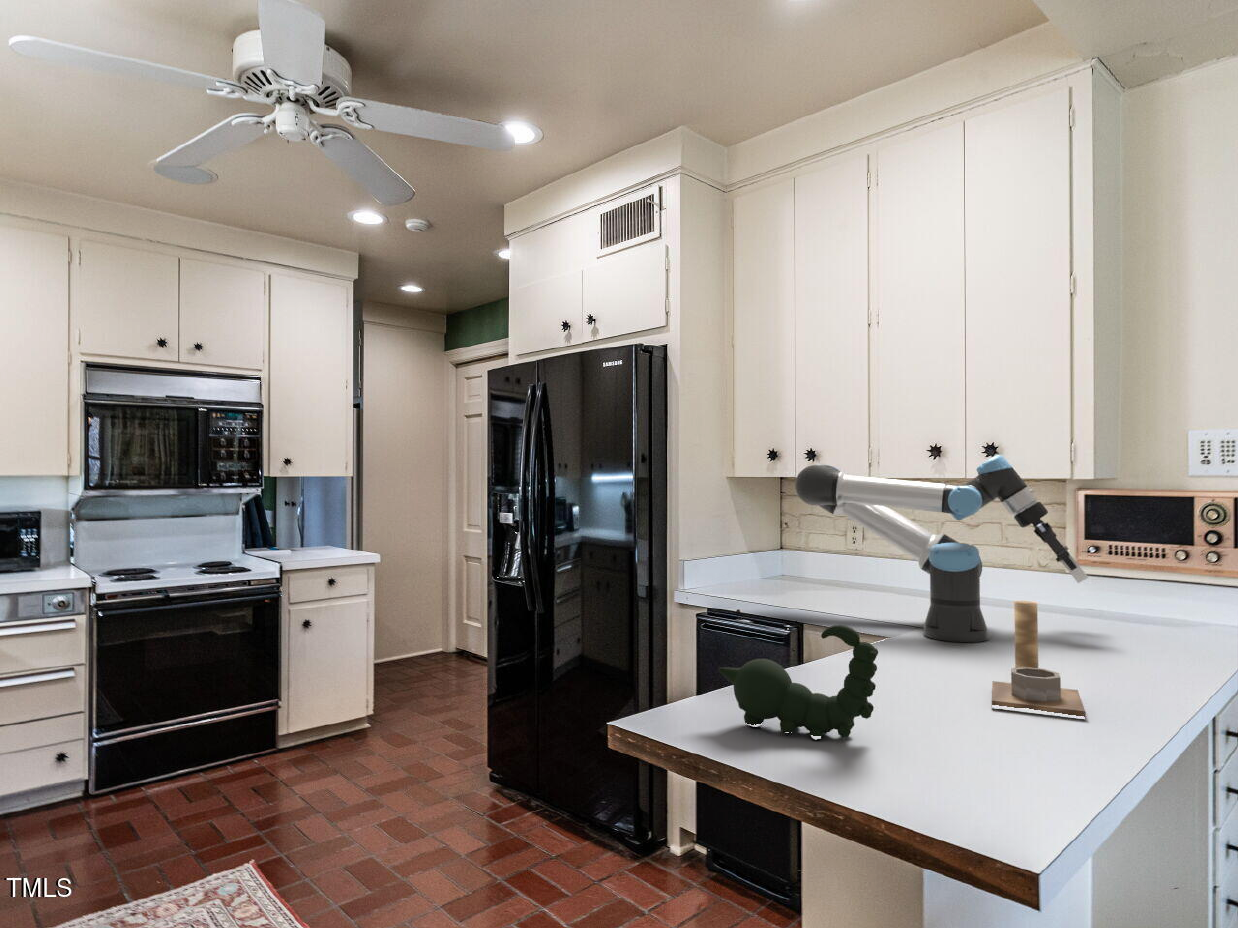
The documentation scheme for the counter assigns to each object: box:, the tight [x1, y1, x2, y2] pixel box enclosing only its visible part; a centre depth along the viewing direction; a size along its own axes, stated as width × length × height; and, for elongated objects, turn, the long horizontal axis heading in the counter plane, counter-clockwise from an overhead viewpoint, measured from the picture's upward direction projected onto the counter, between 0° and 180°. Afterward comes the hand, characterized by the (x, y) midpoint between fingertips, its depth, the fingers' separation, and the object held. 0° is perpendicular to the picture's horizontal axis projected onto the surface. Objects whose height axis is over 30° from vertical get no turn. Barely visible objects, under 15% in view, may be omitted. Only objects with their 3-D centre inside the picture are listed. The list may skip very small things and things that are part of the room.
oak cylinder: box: [1013, 600, 1039, 668], centre depth 147 cm, size 4×4×16 cm
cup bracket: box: [991, 667, 1086, 718], centre depth 134 cm, size 14×14×6 cm
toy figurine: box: [717, 624, 879, 738], centre depth 120 cm, size 9×19×25 cm
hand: (1081, 577), depth 190 cm, fingers open, 13 cm apart
